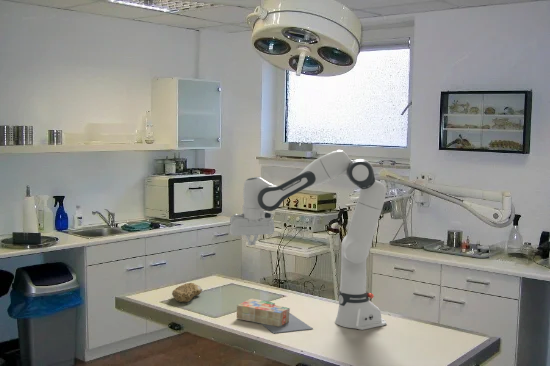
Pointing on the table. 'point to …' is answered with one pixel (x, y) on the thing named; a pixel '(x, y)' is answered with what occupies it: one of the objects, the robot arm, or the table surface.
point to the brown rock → (186, 292)
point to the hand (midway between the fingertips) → (251, 244)
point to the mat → (289, 326)
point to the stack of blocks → (263, 312)
